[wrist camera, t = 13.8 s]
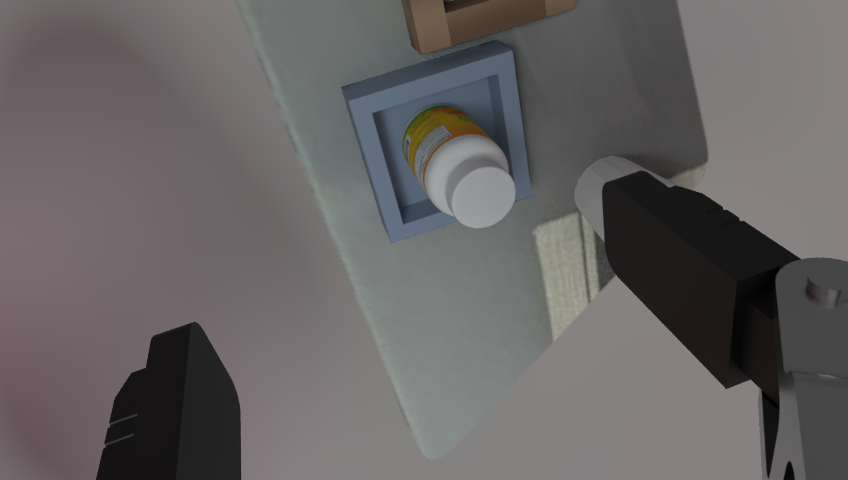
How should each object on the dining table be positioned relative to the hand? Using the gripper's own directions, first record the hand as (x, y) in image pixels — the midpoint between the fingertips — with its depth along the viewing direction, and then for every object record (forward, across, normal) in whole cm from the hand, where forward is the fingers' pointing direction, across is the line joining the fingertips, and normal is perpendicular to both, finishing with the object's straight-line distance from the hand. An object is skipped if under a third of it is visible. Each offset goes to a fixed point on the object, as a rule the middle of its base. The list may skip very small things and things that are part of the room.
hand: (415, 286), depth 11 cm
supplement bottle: (+30, -7, +11) cm, 32 cm away
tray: (+30, -7, +11) cm, 33 cm away
